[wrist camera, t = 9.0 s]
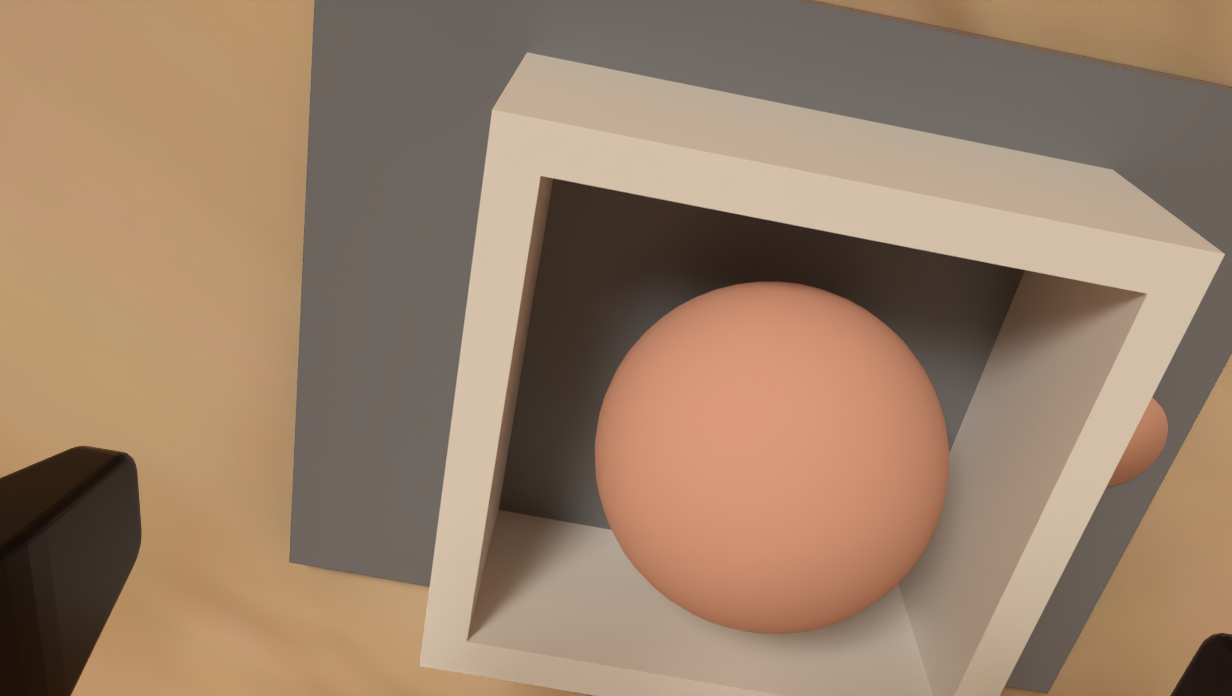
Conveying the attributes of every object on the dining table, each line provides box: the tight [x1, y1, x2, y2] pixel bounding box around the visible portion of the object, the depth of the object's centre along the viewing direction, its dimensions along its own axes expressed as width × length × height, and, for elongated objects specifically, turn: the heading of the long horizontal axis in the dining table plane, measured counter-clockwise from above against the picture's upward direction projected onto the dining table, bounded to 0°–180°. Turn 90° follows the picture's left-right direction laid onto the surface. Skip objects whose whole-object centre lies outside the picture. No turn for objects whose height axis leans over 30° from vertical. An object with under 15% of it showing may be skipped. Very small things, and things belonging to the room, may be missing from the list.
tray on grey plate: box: [289, 0, 1232, 696], centre depth 18 cm, size 18×14×5 cm
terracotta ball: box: [595, 281, 949, 634], centre depth 17 cm, size 6×6×6 cm
